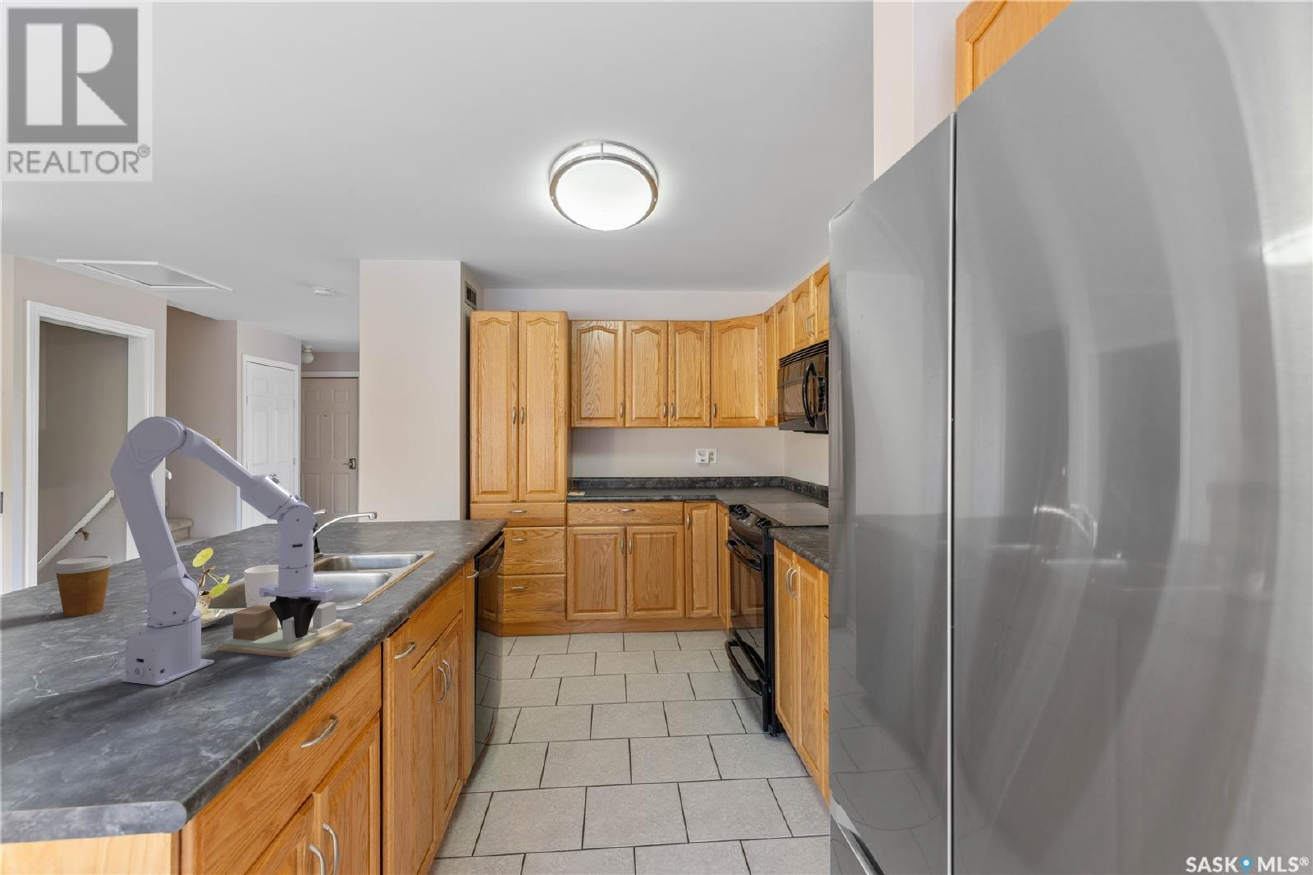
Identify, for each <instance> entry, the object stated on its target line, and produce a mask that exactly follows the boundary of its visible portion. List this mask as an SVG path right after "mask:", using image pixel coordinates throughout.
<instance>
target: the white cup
mask: <svg viewBox="0 0 1313 875" xmlns="http://www.w3.org/2000/svg"><path fill="white" fill-rule="evenodd" d="M243 575H244V593H245V604H246V608H249V607H251V606H254V605H264V606H270V602H273V601H275V599H276V597H269V596H266V597H259V587H262V586H265V585H278V564H266V565H258V566H257V565H256V566H253V567H249V568H246V569H245V570H243Z"/></svg>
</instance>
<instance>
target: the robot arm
mask: <svg viewBox="0 0 1313 875" xmlns="http://www.w3.org/2000/svg"><path fill="white" fill-rule="evenodd" d="M178 450H180V451H179V452H178V453H177V456H179V457H185V458H189V459H190V458H191V459H195V460H199V461H201V462H202V463H204V464H205V465H206V466H208V467H210V468H211V469H212V470H214V471H215V472H217V473H218V474H220V475H221V476H223V477H224V478H226V479H227V480H229V481H230V482H232V483H233V484H234V485H235V486H237V487H239V498H240V499H241V500H243V501H244V502H245V503H247V504H248V505H250V507H252V508H253V509H255V510H256V511H257V512H259V513H261V515H263V516H264V517H266V518H267V519H269V520H271V521H272V520H275V521H276V522H277V524H278V527H279V528H280V530H279V532H280V533H279V542H278V557H277V558H278V559H277V560H278V561H277V562H278V564H277V565H278V585H265V586H262V587H259V597H266V596H269V597H276V599H275V601H273V602H270V607H271V608H272V610H273V611H274V612H275V614H276V616H277V618H278V620H279V622H280V625H281V628H282V631H283V621H284V620H286V619H289V618H292V617H294V627H295V636H296V638H301V637H303V636H305V635H307V633H308V629H309V626H310V622H311V619H312V617H313V614H314V612H315V610H316V608H317V607H318V606H319V605H320V603H321V602H322V603H327V602H330V600H333V599H334V596H333V595H334V589H333V588H328V587H327V588H326V587H322V586H318V585H316V582H314V564H315V562H314V561H315V558H314V556H315V554H314V550H315V549H314V547H315V546H314V543H315V542H314V539H313V536H314V530H313V528H314V527H315V526H316V524H317V523H316V522H317V518H316V517H315V513H314V511H313V509H311V507H310V506H309V505H307V503H306V502H305V501H302V500H301V499H302V497H301V496H300V495H298V494H295V495H294V494H292V492H290V491H289V490H287V489H286V488H285V487H283V486H282V485H281V484H279V483H280V482H281V480H280V479H279V478H278V477H276V476H273V477H271V476H269V475H268V474H254V473H252V472H251V471H250V470H249V469H248V468H246V467H245V466H244V465H242V464H241V463H240V462H239V461H237V460H236V459H235V458H233V457H232V456H231V455H230V454H228V453H227V451H225V450H224V449H222V447H220V446H218V445H217V444H216V443H215V442H214V441H213V440H211V439H210V438H208V437H206V436H205V435H203V434H201V433H199V432H198V431H196V430H194V429H193V428H190V427H186V426H185V425H184V423H182V422H181V421H180V420H178V419H176V418H173V417H169V416H160V415H156V416H155V415H154V416H149V417H146V418H144V419H142V420H141V421H139V422H138V423H137V424H135V425H134V427H132V429H130V430H129V431H128V432H126V434H125V435H124V438H123V442H122V444H121V447H120V449H119V450H118V453H117V454H116V457H115V459H114V461H113V463H112V465H111V467H110V469H109V470H110V477H111V479H112V483H113V486H114V487H115V491H116V493H117V496H118V499H119V502H120V505H121V508H122V511H123V514H124V517H125V520H126V521H127V525H128V528H129V531H130V532H131V537H132V539H133V541H134V544H135V547H136V550H137V553H138V555H139V559H140V561H141V564H142V567H143V570H144V573H145V581H146V588H147V591H148V595H149V597H148V602H147V606H146V613H147V615H148V618H147V619H146V624H145V626H143V627H142V628H141V629H139V630H137V631H134V632H133V633H131V634H130V635H129V636H128V638H127V640H126V643H125V676H124V677H122V678H121V682H122V683H123V682H124V683H131V684H140V685H141V684H143V685H151V686H162V685H165V684H167V683H170V682H172V681H175V680H177V679H179V678H181V677H182V678H183V676H187V675H189V674H191V673H193V672H196V671H198V670H201V669H203V668H205V667H208V666H210V665H212V664H214V663H215V660H214V659H207V658H202V611H200V610H198V609H197V608H196V607H197V599H198V597H199V596H200V586H199V583H198V582H197V581H196V579H193V578H192V577H191V576H190V575H189V574H188V572H187V569H186V567H185V564H184V563H183V562H182V560H181V558H180V555H179V552H178V549H177V546H176V544H175V540H174V537H173V535H172V532H171V528H170V526H169V523H168V520H167V517H166V515H165V511H164V509H163V506H162V502H161V500H160V497H159V494H158V490H157V488H156V484H155V482H154V479H153V477H152V475H153V473H154V472H155V470H156V469H157V468H158V467H159V466H160V464H162V462H163V461H164V460H165V458H166V457H168V456H169V455H171V454H173V453H174V452H176V451H178Z"/></svg>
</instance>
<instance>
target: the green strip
mask: <svg viewBox="0 0 1313 875" xmlns="http://www.w3.org/2000/svg"><path fill="white" fill-rule="evenodd" d="M315 637H316V633H309V632H308V633H307V635H305V636H303V637H301V638H296V636H295V627H294V617H292V618H289V619H286V620H284V621H283V631H282V630H278V632H275V633H273V634H271V635H268V636H266V637H263V638H261V639H258V640H256V641H253V640H242V639H233V636H231V637H229V638H225V639H224V640H223V641H224V642H223V643H224V644H228V645H238V646H249V647H259V648H270V649H280V650H289V649H291V648H294V647H296V646H298V645H300V644H302V643H304V642H307V641H309V640H311V639H313V638H315Z"/></svg>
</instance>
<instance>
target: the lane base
mask: <svg viewBox="0 0 1313 875" xmlns="http://www.w3.org/2000/svg"><path fill="white" fill-rule="evenodd" d="M352 629H354V623H351V622H343V624H341V625H339V626H336V627H334V628H332V629H330V630H328V631H325V632H323V633H321V634H319V635H316V637H315V638H313V639H311V640H309V641H307V642H304V643H302V644H300V645H298V646H296V647H294V648H291V649H289V650H280V649H270V648H259V647H249V646H238V645H228V644H224V642H223V643H221V644H219V645H218V652H230V653H239V654H240V653H241V654H250V655H251V654H252V655H261V656H269V657H271V656H272V657H280V658H281V657H283V658H294V657H296V656H297V655H301V654H302V653H304V652H306V651H309V650H311V649H313V648H316V647H317V646H319V645H321V644H323V643H325V642H327V641H330V640H331V639H334V638H336V637H338V636H340V635H342V634H344V633H346V632H349V631H350V630H352Z"/></svg>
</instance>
